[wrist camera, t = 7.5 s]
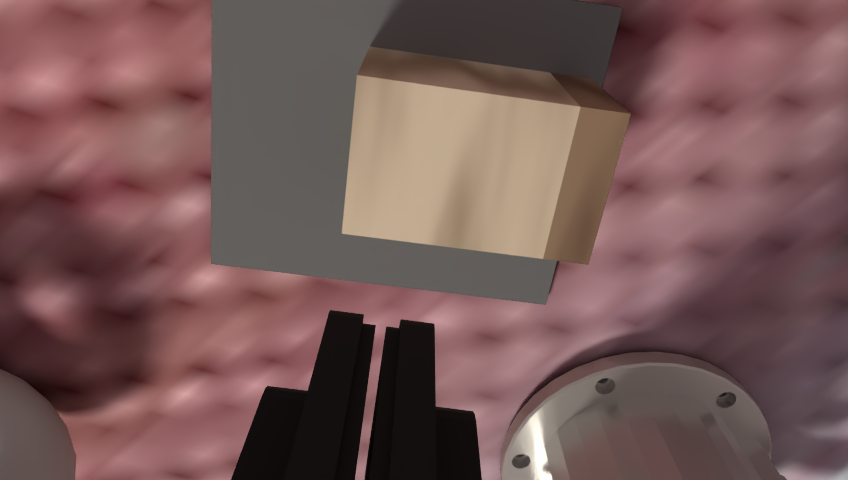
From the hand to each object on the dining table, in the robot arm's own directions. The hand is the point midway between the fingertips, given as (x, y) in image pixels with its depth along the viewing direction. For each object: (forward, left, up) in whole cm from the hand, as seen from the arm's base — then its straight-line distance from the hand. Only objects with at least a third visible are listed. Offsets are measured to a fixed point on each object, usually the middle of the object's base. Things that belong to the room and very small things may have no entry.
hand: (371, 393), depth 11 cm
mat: (0, +1, -16) cm, 16 cm away
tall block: (+1, 0, -13) cm, 13 cm away
